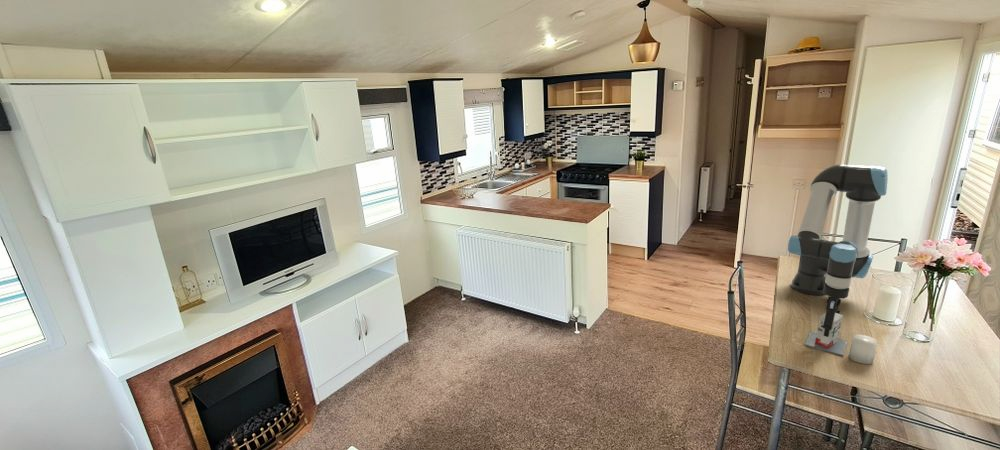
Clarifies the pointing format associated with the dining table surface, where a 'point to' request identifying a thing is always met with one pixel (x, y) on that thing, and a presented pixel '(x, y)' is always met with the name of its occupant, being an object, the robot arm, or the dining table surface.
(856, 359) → the white rounded cylinder
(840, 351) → the slate tile
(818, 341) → the ink box
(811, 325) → the dining table surface
